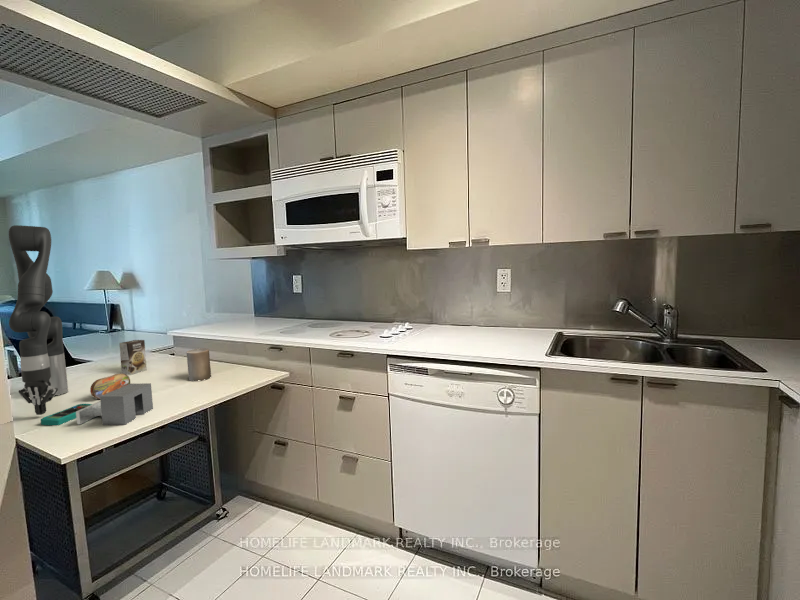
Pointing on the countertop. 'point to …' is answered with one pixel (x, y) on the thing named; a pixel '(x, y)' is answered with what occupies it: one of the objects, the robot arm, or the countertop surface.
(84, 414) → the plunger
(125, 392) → the gray tunnel block
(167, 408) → the countertop surface
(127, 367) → the food box
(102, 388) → the tin
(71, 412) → the digital multimeter
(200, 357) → the pillar candle
